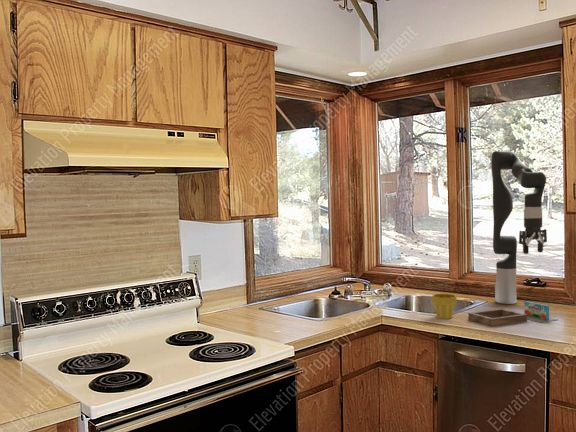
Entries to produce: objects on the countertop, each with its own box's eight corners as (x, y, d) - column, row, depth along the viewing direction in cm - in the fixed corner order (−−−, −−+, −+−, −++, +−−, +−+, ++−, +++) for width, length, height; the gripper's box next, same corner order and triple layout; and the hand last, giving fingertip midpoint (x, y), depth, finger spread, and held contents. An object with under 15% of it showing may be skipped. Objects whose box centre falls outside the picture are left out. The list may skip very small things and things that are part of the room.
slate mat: (514, 316, 245) (514, 315, 245) (531, 313, 249) (531, 313, 249) (540, 322, 232) (540, 322, 232) (558, 319, 236) (558, 319, 236)
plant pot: (451, 320, 238) (451, 298, 238) (428, 318, 245) (428, 296, 244) (460, 316, 247) (459, 294, 246) (437, 313, 253) (437, 292, 252)
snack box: (524, 315, 245) (524, 301, 245) (526, 314, 246) (526, 301, 246) (546, 320, 234) (546, 306, 234) (549, 320, 235) (549, 305, 235)
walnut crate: (468, 319, 239) (468, 313, 239) (502, 315, 247) (502, 308, 247) (492, 326, 227) (492, 319, 226) (526, 321, 234) (526, 314, 234)
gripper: (538, 215, 254) (538, 250, 255) (514, 217, 249) (514, 253, 250) (551, 216, 248) (551, 252, 249) (527, 218, 242) (527, 255, 243)
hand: (533, 252), depth 249 cm, fingers open, 8 cm apart
